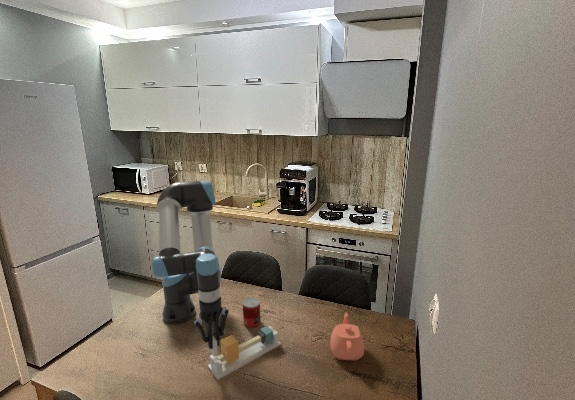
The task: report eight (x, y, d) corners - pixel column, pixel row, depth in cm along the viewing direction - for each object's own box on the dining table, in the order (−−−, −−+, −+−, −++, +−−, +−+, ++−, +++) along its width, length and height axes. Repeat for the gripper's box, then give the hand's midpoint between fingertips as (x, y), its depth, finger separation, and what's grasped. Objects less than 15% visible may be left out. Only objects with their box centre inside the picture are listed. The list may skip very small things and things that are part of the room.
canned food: (257, 329, 141) (257, 307, 138) (241, 327, 143) (240, 305, 140) (262, 318, 148) (261, 298, 145) (246, 316, 150) (245, 296, 147)
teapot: (359, 335, 136) (361, 311, 133) (366, 371, 117) (368, 344, 114) (329, 334, 137) (329, 309, 134) (330, 369, 118) (331, 342, 115)
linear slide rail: (208, 366, 120) (206, 351, 118) (269, 334, 137) (269, 321, 135) (217, 380, 114) (216, 364, 112) (280, 344, 131) (280, 330, 129)
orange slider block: (221, 357, 121) (220, 340, 119) (232, 351, 124) (231, 334, 122) (227, 364, 117) (226, 347, 115) (239, 358, 120) (238, 341, 118)
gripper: (196, 309, 103) (201, 368, 109) (231, 295, 110) (235, 351, 116) (187, 299, 108) (193, 356, 114) (221, 287, 116) (225, 340, 122)
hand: (214, 353), depth 115 cm, fingers closed
